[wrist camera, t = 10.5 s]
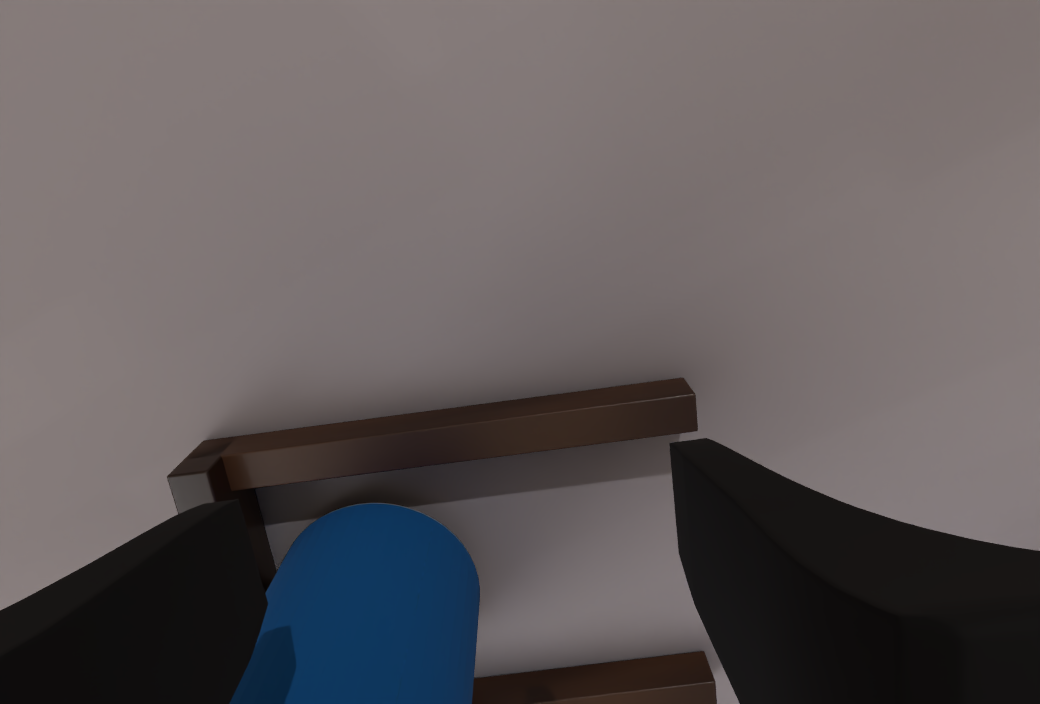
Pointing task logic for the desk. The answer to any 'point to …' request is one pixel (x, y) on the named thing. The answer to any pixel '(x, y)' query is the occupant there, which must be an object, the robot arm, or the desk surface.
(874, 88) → the desk surface
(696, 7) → the desk surface
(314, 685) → the beverage can
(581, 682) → the can track
